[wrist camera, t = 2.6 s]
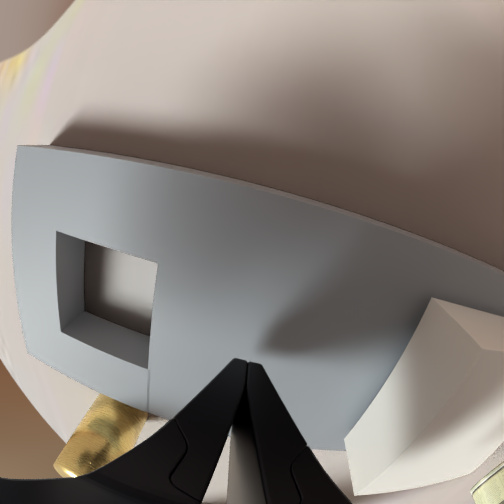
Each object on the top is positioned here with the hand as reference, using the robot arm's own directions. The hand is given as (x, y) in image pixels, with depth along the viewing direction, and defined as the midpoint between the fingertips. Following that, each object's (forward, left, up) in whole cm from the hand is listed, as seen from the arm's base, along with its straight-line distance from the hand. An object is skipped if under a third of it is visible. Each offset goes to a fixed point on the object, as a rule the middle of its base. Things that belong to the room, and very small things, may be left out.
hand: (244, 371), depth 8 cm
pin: (-8, +5, -3) cm, 10 cm away
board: (0, -6, -3) cm, 6 cm away
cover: (0, -9, -1) cm, 9 cm away
